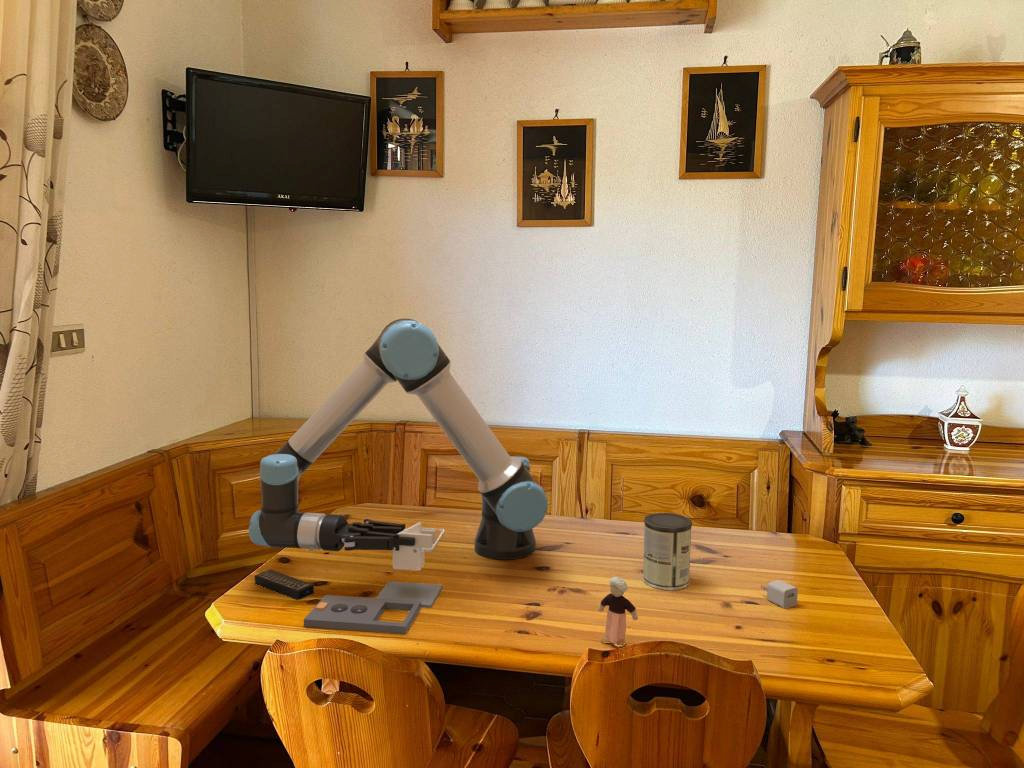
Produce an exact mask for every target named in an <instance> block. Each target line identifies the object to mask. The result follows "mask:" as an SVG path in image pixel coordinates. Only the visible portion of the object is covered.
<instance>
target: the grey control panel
mask: <svg viewBox="0 0 1024 768" xmlns="http://www.w3.org/2000/svg"><path fill="white" fill-rule="evenodd" d="M385 610H387V611H388V610H389V611H405V612H408V613H407V615H406V617H405V618H404V620H403V621H402V622H400V621H399V622H397V621H386V620H385V621H384V620H379V619H380V617H381V616H382V614H383V613H384V612H385ZM421 610H422V607H421V601H409V600H395V599H380V598H377V597H364V596H351V595H350V596H348V595H347V596H346V595H333V594H325V595H324V596H323V597H322V599H321V600H320V601H319V602H318V603H317V604H316V605H315V606H314V607H313V609H311V611H310V612H308V614H307V615H306V616H305V617H304V618H303V627H306V628H314V629H315V628H316V629H317V628H318V629H331V630H341V631H342V630H343V631H344V630H345V631H346V630H347V631H357V632H358V631H360V632H368V633H369V632H370V633H371V632H372V633H382V632H383V633H384V634H385V633H386V634H395V633H396V634H397V633H398V635H407V633H408V632H409V629H410V628H411V626H412V625H411V624H413V622H414V621H415V620H414V619H416V617H417V616H418V614H419V612H420V611H421ZM407 631H408V632H407Z"/></svg>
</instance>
